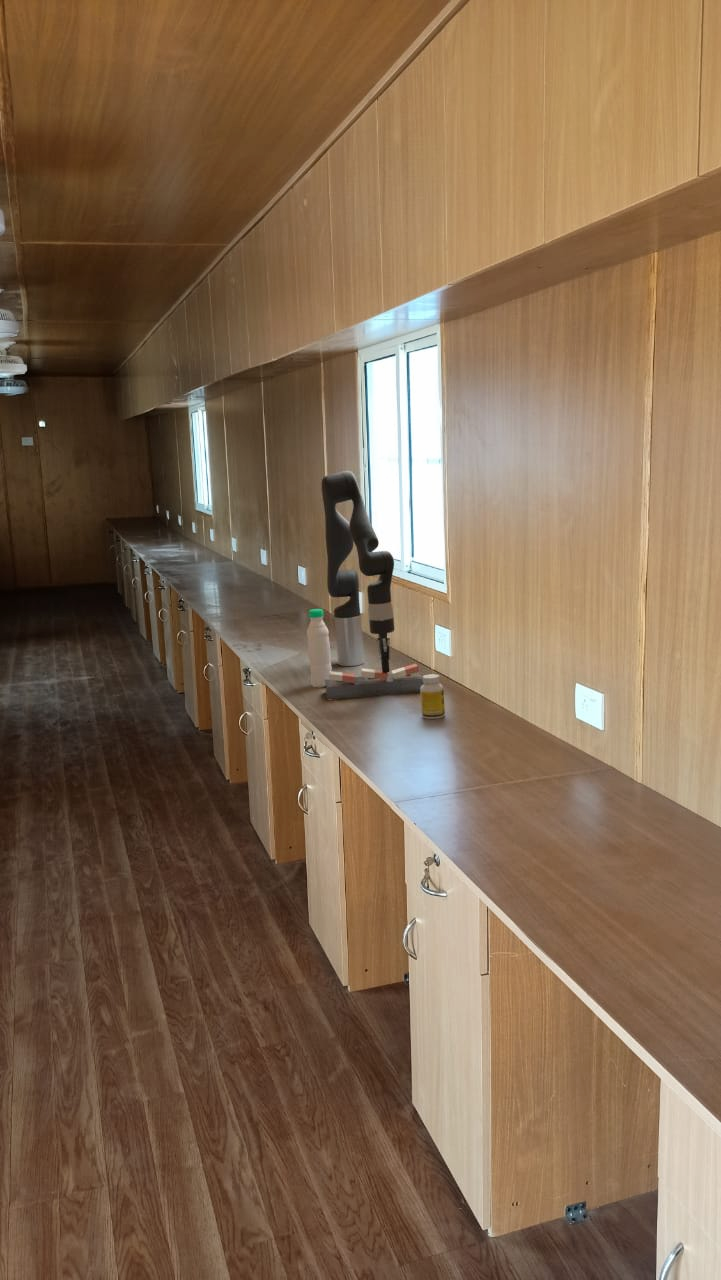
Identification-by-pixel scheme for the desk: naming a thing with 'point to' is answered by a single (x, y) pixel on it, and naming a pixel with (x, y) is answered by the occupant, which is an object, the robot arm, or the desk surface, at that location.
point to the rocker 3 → (405, 671)
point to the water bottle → (318, 649)
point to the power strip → (373, 686)
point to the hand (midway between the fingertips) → (385, 671)
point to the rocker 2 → (373, 674)
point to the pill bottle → (432, 697)
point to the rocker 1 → (341, 676)
